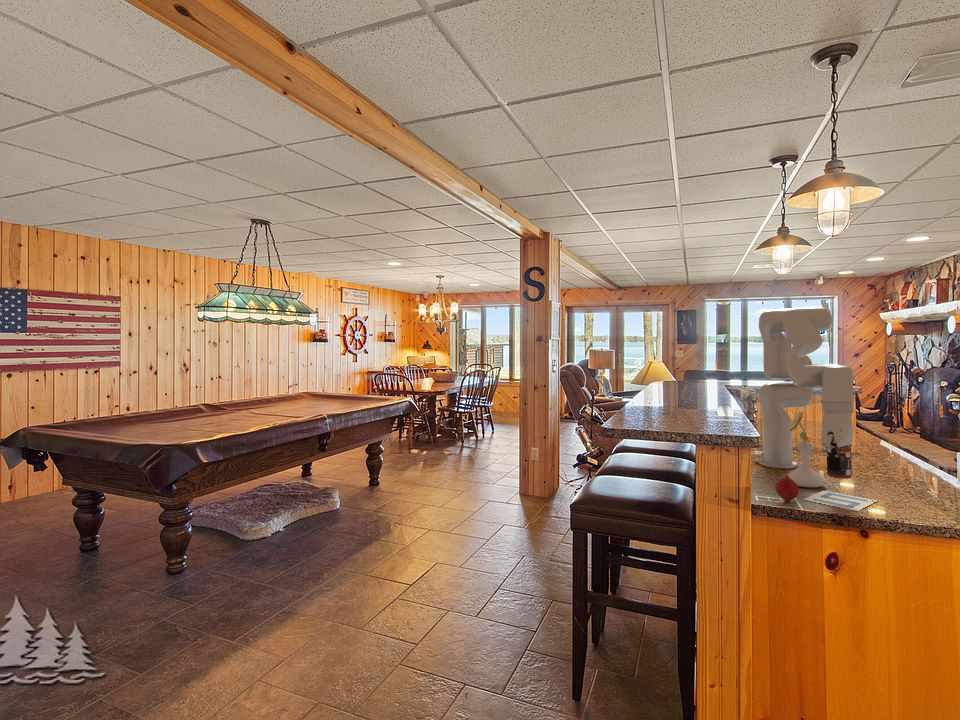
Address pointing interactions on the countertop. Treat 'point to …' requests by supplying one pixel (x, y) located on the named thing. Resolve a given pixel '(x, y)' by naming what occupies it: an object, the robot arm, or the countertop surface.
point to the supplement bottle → (843, 464)
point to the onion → (787, 489)
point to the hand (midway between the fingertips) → (839, 467)
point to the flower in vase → (804, 460)
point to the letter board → (840, 500)
